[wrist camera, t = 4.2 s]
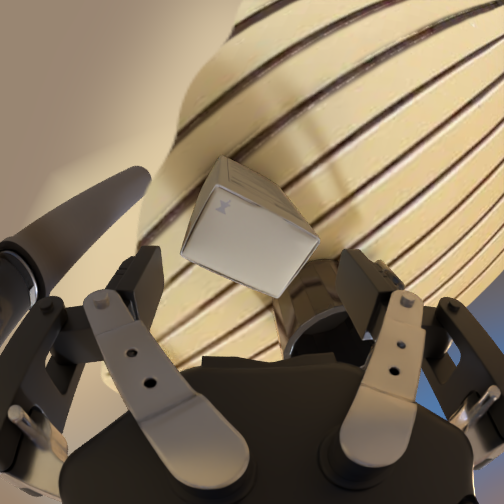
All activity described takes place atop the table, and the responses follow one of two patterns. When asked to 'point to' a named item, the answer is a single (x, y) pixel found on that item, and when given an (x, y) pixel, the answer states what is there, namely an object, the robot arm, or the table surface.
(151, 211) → the table surface
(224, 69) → the table surface
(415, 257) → the table surface
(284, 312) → the mug
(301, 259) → the cosmetic box
